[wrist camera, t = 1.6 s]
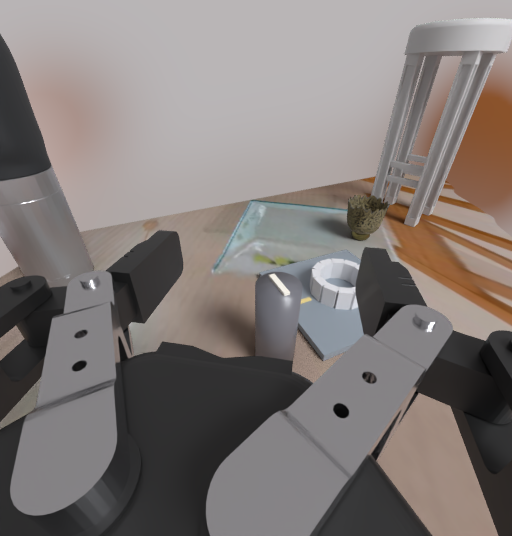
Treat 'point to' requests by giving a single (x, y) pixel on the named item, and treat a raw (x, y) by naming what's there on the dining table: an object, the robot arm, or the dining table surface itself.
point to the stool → (454, 114)
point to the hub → (328, 301)
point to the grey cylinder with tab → (277, 314)
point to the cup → (365, 215)
